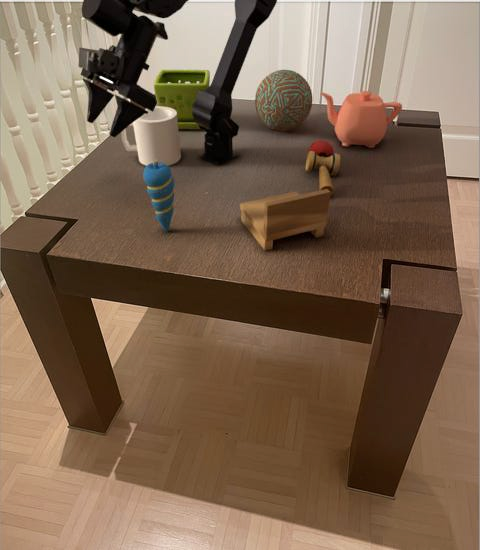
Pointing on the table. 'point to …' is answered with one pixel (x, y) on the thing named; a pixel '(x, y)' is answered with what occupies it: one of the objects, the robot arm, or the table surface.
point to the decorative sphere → (283, 100)
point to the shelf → (286, 216)
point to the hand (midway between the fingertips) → (100, 129)
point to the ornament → (160, 191)
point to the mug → (156, 136)
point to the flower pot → (181, 92)
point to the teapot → (361, 118)
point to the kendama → (323, 163)
